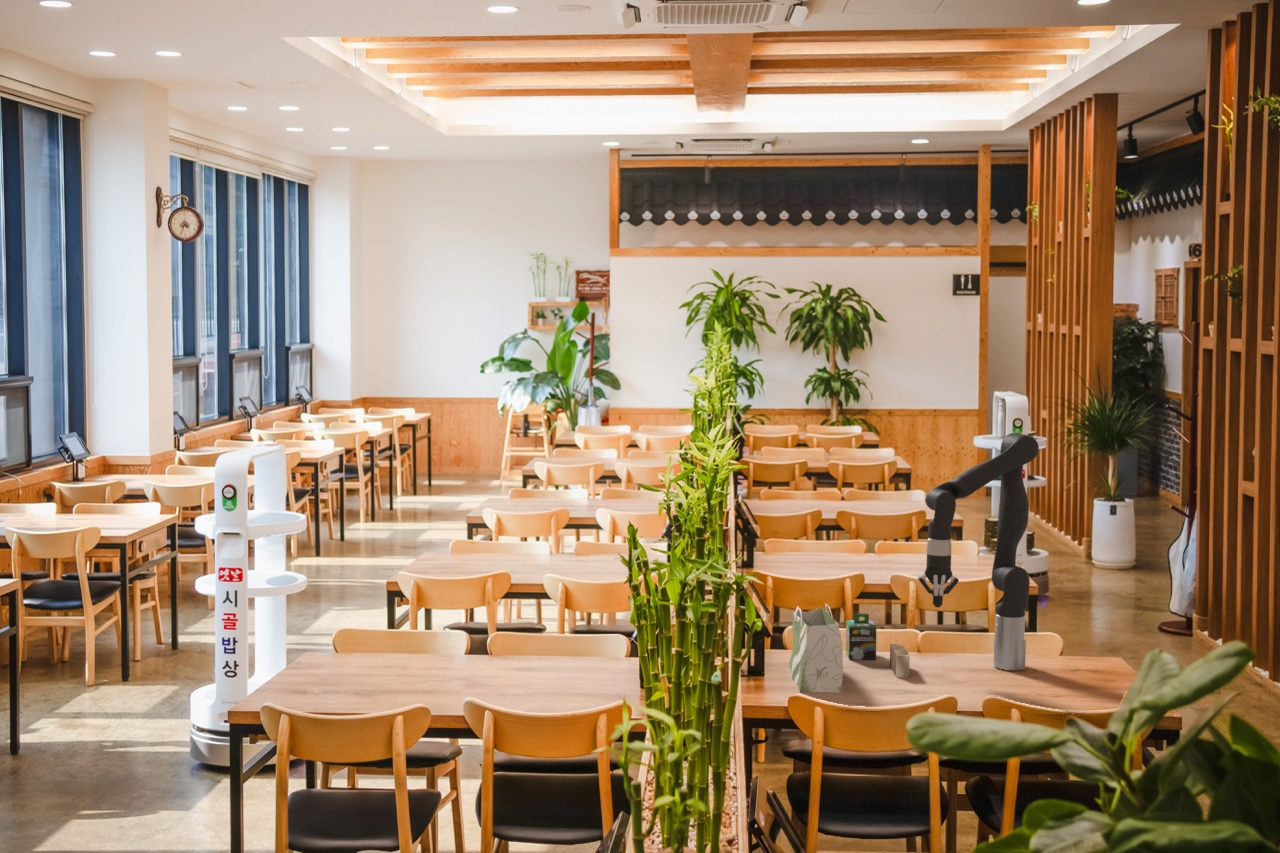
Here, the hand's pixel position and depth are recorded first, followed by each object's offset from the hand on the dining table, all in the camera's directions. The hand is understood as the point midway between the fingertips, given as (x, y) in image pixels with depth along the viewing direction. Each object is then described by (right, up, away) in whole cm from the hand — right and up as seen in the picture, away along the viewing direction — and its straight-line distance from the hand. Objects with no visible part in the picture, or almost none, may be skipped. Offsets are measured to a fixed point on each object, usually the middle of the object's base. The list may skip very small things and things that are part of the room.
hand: (937, 606), depth 411 cm
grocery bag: (-40, -22, -6) cm, 46 cm away
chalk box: (-21, -20, +20) cm, 35 cm away
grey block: (-12, -18, -5) cm, 22 cm away
